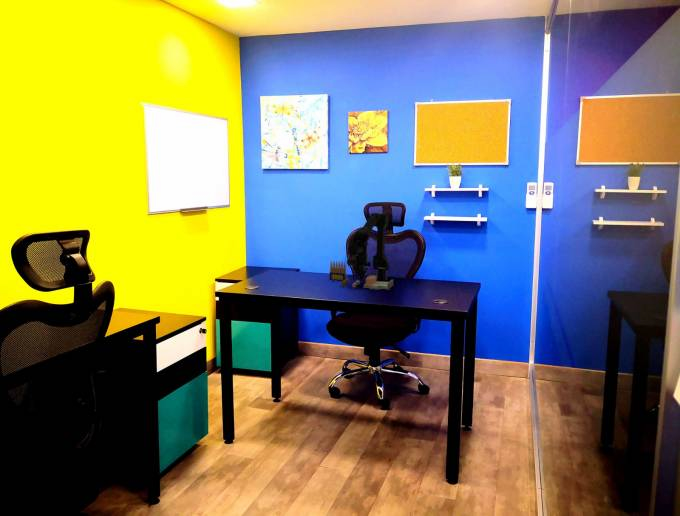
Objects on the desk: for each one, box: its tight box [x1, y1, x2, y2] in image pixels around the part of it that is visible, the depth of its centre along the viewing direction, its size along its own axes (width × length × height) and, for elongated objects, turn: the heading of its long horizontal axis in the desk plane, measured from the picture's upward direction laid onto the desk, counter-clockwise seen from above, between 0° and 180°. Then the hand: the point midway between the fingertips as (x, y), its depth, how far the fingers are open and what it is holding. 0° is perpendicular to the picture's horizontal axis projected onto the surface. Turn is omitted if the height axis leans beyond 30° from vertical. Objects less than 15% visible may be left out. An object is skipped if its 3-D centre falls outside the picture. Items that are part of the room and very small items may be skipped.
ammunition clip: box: [328, 260, 347, 282], centre depth 324 cm, size 11×2×12 cm, turn 63°
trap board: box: [341, 277, 394, 291], centre depth 308 cm, size 13×27×4 cm, turn 75°
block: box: [365, 275, 377, 285], centre depth 308 cm, size 10×4×4 cm, turn 165°
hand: (361, 280), depth 309 cm, fingers closed
